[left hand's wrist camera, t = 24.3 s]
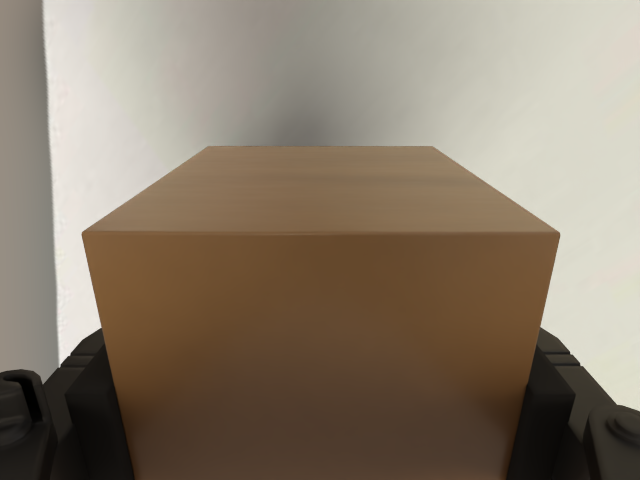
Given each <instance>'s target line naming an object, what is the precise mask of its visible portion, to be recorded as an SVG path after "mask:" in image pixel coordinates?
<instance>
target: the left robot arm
mask: <svg viewBox="0 0 640 480" xmlns="http://www.w3.org/2000/svg"><path fill="white" fill-rule="evenodd" d="M0 480H135V479H134V474H133V470H132V465H131V460H130V456H129V451H128V447H127V442H126V437H125V433H124V428H123V424H122V419H121V414H120V410H119V405H118V400H117V396H116V391H115V387H114V382H113V377H112V373H111V368H110V363H109V359H108V354H107V350H106V345H105V340H104V336H103V331H102V328H100V329H99V330H97V331H96V332H94V333H92V334H91V335H89V336H88V337H86V338H85V339H83V340H82V341H81V342H80V343H79V344H78V346H77V347H76V348H75V349H74V350H73V351H72V352H71V355H70V356H68V357H67V358H66V359H65V360H64V361H63V363H62V364H61V367H60V368H57V369H56V371H55V372H54V373H53V374H52V375H51V376H50V377H49V378H48V380H47V381H46V382H45V383H44V384H42V381H41V377H40V376H39V375H38V374H37V373H35V372H34V371H29V370H23V369H20V370H11V371H5V372H1V373H0ZM506 480H640V411H637V410H634V409H631V408H628V407H625V406H622V405H617V404H616V403H615V402H614V401H613V400H612V399H611V397H610V396H609V395H608V394H607V393H606V392H605V391H604V390H603V388H602V387H601V386H600V385H599V384H598V383H597V382H596V381H595V379H594V378H593V377H592V376H591V375H590V374H589V373H588V372H587V370H586V369H585V368H584V367H583V366H580V363H579V361H578V360H577V359H576V358H575V357H574V356H573V355H570V351H569V350H568V349H567V348H566V347H565V346H564V345H563V343H562V342H561V341H560V340H559V339H558V338H557V337H555V336H553V335H552V334H550V333H549V332H547V331H546V330H544V329H542V328H541V327H540V330H539V334H538V339H537V343H536V348H535V352H534V357H533V362H532V366H531V371H530V375H529V380H528V384H527V386H526V391H525V396H524V400H523V405H522V409H521V414H520V418H519V423H518V428H517V432H516V437H515V441H514V446H513V450H512V455H511V460H510V464H509V469H508V473H507V478H506Z"/></svg>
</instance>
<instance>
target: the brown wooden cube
mask: <svg viewBox="0 0 640 480" xmlns="http://www.w3.org/2000/svg"><path fill="white" fill-rule="evenodd" d="M82 239H83V243H84V248H85V253H86V257H87V262H88V266H89V271H90V276H91V280H92V285H93V290H94V294H95V299H96V303H97V308H98V313H99V317H100V322H101V327H102V331H103V336H104V340H105V345H106V350H107V354H108V359H109V363H110V368H111V373H112V377H113V382H114V387H115V391H116V396H117V400H118V405H119V410H120V414H121V419H122V424H123V428H124V433H125V437H126V442H127V447H128V451H129V456H130V460H131V465H132V470H133V474H134V479H135V480H506V478H507V473H508V469H509V464H510V460H511V455H512V450H513V446H514V441H515V437H516V432H517V428H518V423H519V418H520V414H521V409H522V405H523V400H524V396H525V391H526V386H527V384H528V380H529V375H530V371H531V366H532V362H533V357H534V352H535V348H536V343H537V339H538V334H539V330H540V325H541V321H542V316H543V312H544V307H545V302H546V298H547V293H548V289H549V284H550V280H551V275H552V271H553V266H554V262H555V257H556V252H557V248H558V243H559V239H560V232H558V231H557V230H555V229H554V228H552V227H551V226H549V225H548V224H547V223H545V222H544V221H542V220H541V219H539V218H538V217H536V216H535V215H533V214H532V213H530V212H529V211H527V210H526V209H524V208H523V207H521V206H520V205H518V204H517V203H515V202H514V201H513V200H511V199H510V198H508V197H507V196H505V195H504V194H502V193H501V192H499V191H498V190H496V189H495V188H493V187H492V186H490V185H489V184H487V183H486V182H484V181H483V180H482V179H480V178H479V177H477V176H476V175H474V174H473V173H471V172H470V171H468V170H467V169H465V168H464V167H462V166H461V165H459V164H458V163H456V162H455V161H453V160H452V159H450V158H449V157H448V156H446V155H445V154H443V153H442V152H440V151H439V150H437V149H436V148H434V147H432V146H208V147H207V148H205V149H204V150H202V151H201V152H199V153H198V154H196V155H195V156H193V157H192V158H190V159H189V160H187V161H186V162H184V163H183V164H182V165H180V166H179V167H177V168H176V169H174V170H173V171H171V172H170V173H168V174H167V175H165V176H164V177H162V178H161V179H159V180H158V181H157V182H155V183H154V184H152V185H151V186H149V187H148V188H146V189H145V190H143V191H142V192H140V193H139V194H137V195H136V196H134V197H133V198H132V199H130V200H129V201H127V202H126V203H124V204H123V205H121V206H120V207H118V208H117V209H115V210H114V211H112V212H111V213H109V214H108V215H107V216H105V217H104V218H102V219H101V220H99V221H98V222H96V223H95V224H93V225H92V226H90V227H89V228H87V229H86V230H84V231H83V232H82Z"/></svg>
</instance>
